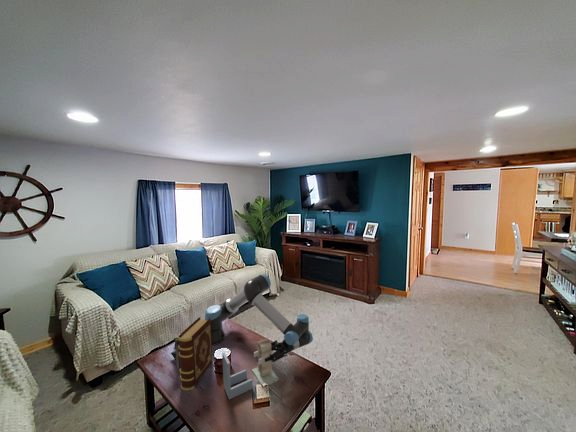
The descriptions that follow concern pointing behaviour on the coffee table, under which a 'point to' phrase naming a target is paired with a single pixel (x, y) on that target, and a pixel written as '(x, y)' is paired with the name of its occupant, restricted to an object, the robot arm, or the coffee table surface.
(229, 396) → the slot rack
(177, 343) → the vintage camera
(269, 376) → the sage tile
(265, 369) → the block
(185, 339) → the decorative book
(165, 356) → the coffee table surface
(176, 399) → the coffee table surface
